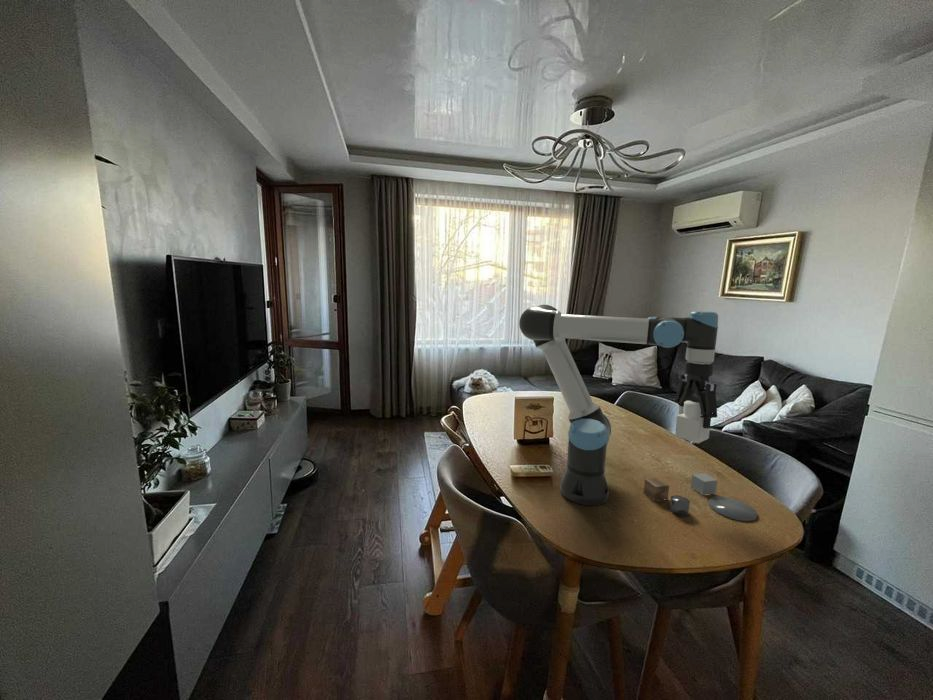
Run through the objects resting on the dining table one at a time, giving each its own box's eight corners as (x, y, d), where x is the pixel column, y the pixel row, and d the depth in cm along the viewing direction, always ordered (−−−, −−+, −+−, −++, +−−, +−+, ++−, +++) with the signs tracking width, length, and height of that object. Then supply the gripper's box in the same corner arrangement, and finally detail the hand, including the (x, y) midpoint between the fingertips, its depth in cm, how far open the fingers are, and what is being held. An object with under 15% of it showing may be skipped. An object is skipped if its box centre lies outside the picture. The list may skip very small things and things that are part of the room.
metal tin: (677, 517, 112) (679, 505, 111) (665, 508, 117) (667, 496, 116) (692, 515, 113) (693, 503, 112) (679, 506, 118) (681, 494, 117)
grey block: (702, 496, 124) (704, 481, 123) (690, 488, 129) (692, 474, 128) (715, 494, 125) (717, 480, 124) (703, 486, 130) (704, 473, 129)
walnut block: (653, 501, 120) (655, 486, 120) (643, 493, 125) (644, 479, 124) (667, 500, 121) (669, 485, 121) (656, 491, 126) (658, 477, 125)
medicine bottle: (685, 432, 126) (688, 396, 124) (709, 438, 120) (713, 402, 118) (674, 436, 122) (678, 400, 120) (698, 443, 116) (702, 405, 114)
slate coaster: (732, 523, 109) (733, 520, 109) (699, 500, 121) (699, 498, 121) (766, 518, 112) (767, 516, 112) (731, 497, 123) (731, 494, 123)
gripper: (738, 369, 106) (729, 445, 110) (688, 355, 128) (682, 419, 132) (712, 369, 106) (704, 445, 110) (667, 355, 128) (661, 419, 132)
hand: (692, 431), depth 121 cm, fingers closed on medicine bottle, 10 cm apart
